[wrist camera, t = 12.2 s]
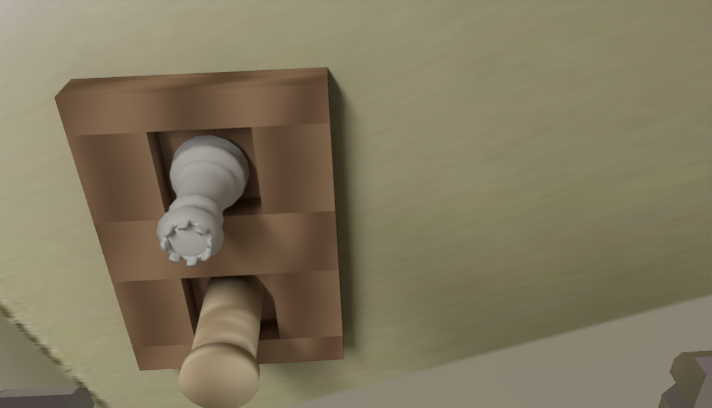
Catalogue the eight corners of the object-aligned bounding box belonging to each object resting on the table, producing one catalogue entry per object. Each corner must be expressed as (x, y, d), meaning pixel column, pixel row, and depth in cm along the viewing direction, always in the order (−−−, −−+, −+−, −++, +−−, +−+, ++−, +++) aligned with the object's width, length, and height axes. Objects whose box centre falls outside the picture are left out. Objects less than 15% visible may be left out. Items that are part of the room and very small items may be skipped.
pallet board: (327, 67, 34) (328, 136, 27) (343, 333, 45) (346, 434, 38) (71, 79, 34) (2, 152, 27) (148, 344, 45) (114, 447, 38)
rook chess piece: (156, 159, 36) (118, 240, 29) (213, 116, 35) (187, 190, 28) (210, 210, 38) (186, 296, 31) (266, 171, 37) (253, 252, 30)
